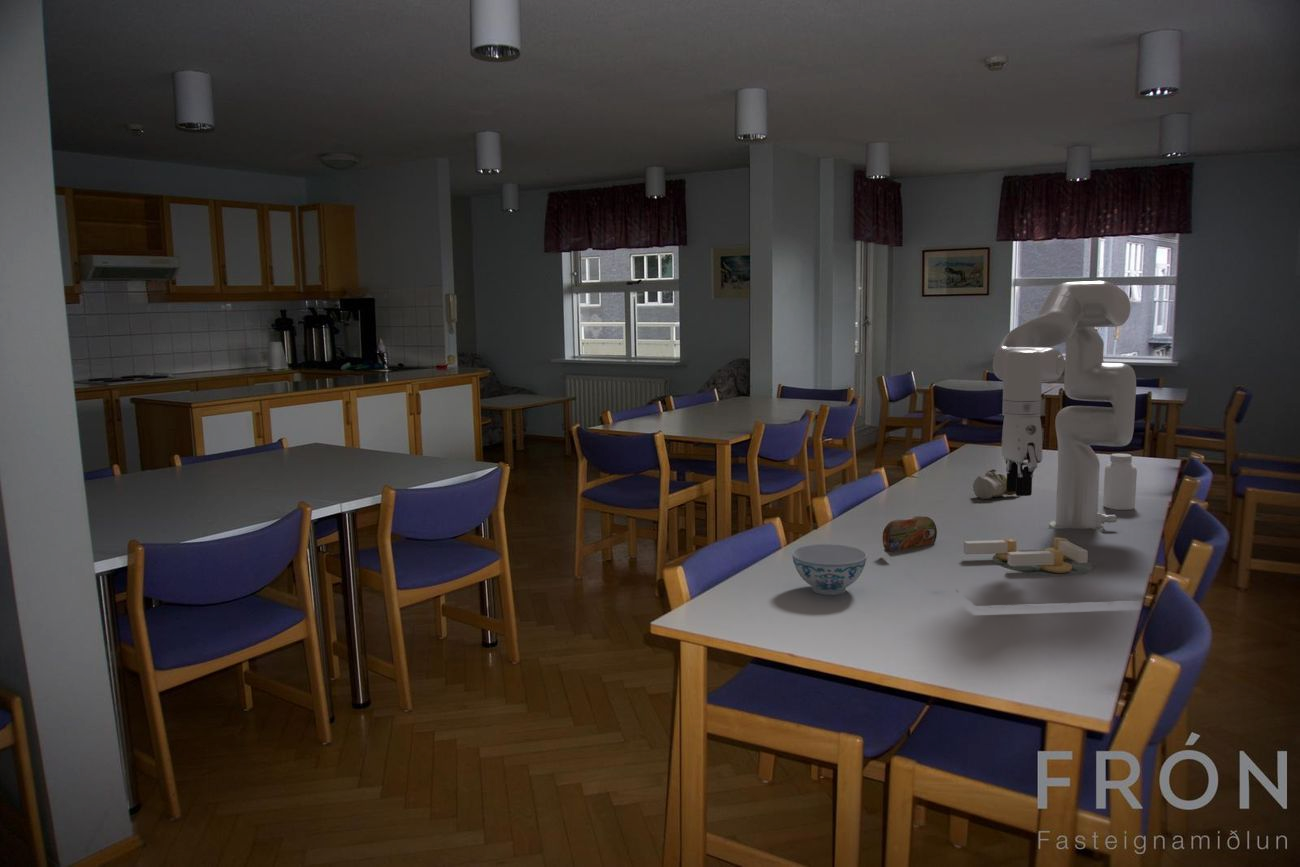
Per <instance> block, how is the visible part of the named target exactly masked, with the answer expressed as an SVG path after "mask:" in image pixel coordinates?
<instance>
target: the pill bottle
mask: <svg viewBox="0 0 1300 867" xmlns="http://www.w3.org/2000/svg"><path fill="white" fill-rule="evenodd" d="M1109 457H1110V459H1109V460H1110V463H1107V464H1106V466H1105V468H1104V479H1103V482H1104V483H1103V496H1102V497H1103V500H1102V505H1103V507H1104V508H1107V509H1111V510H1116V511H1117V510H1118V511H1129V510H1134V509H1135V507H1136V506H1135V505H1136V495H1137V494H1136V492H1137V479H1138V478H1137V476H1138V470H1137V466H1135V465H1134V464H1132V463H1133V461H1132V460H1133V455H1132V454H1129V453H1118V452H1117V453H1112V454H1110V456H1109Z"/></svg>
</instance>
